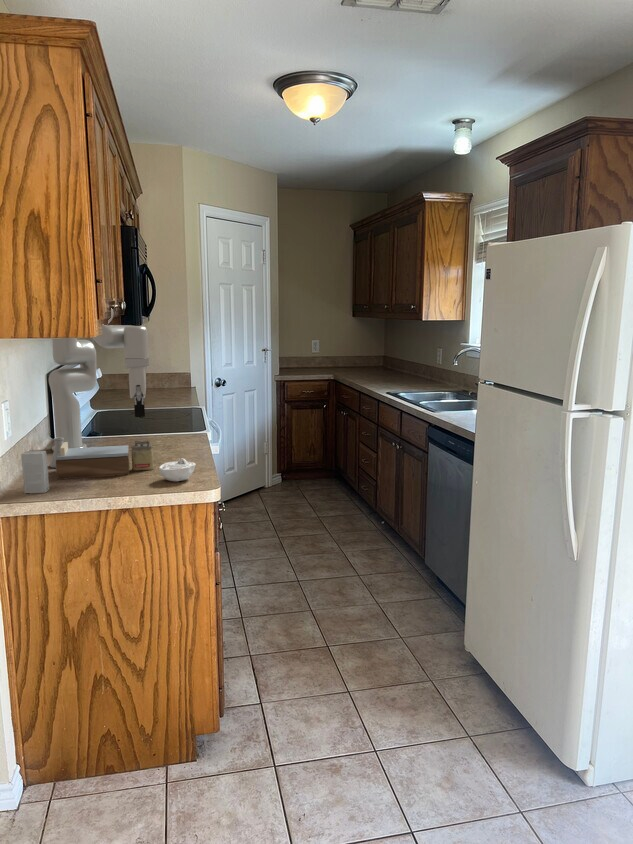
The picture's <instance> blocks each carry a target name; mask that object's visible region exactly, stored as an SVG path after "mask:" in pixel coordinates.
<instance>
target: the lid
mask: <svg viewBox="0 0 633 844" xmlns="http://www.w3.org/2000/svg"><path fill="white" fill-rule="evenodd" d="M128 450H129V444H128V445H108V446H106V445H105V446H92V447H91V446H89V447H88V446H87V447H86V448H68V442H64V443H63V444H62V446H61V448H60V450H59V452H58V454H57V455H56V460H67V459H84V458H101V457H119V456H128Z"/></svg>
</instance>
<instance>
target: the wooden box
mask: <svg viewBox="0 0 633 844" xmlns="http://www.w3.org/2000/svg"><path fill="white" fill-rule="evenodd" d="M129 465H130V451H129V450H128V456H119V457H101V458H84V459H67V460H56V468H55V469H56V480H66V479H65V478H71V479H81V478H84V477H86V478H98V477H101V478H102V477H113V476H115V475H117V476H126V475H125V474H129V475H130V466H129Z"/></svg>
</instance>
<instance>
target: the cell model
mask: <svg viewBox="0 0 633 844" xmlns="http://www.w3.org/2000/svg"><path fill="white" fill-rule="evenodd" d="M195 467H196V463H195V462H192V461H187V460H186V459H185V458H183V457H181V458H179V459H178V461H168V462H165V463H163V464H161V465H160V466H158V470H159V474H160V476H161V477H162V478H164V479H165V480H167V481H169V482H181V481H186V480H188V479H189V478H190V477H191V476H192V474H193V473H194V471H195Z"/></svg>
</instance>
